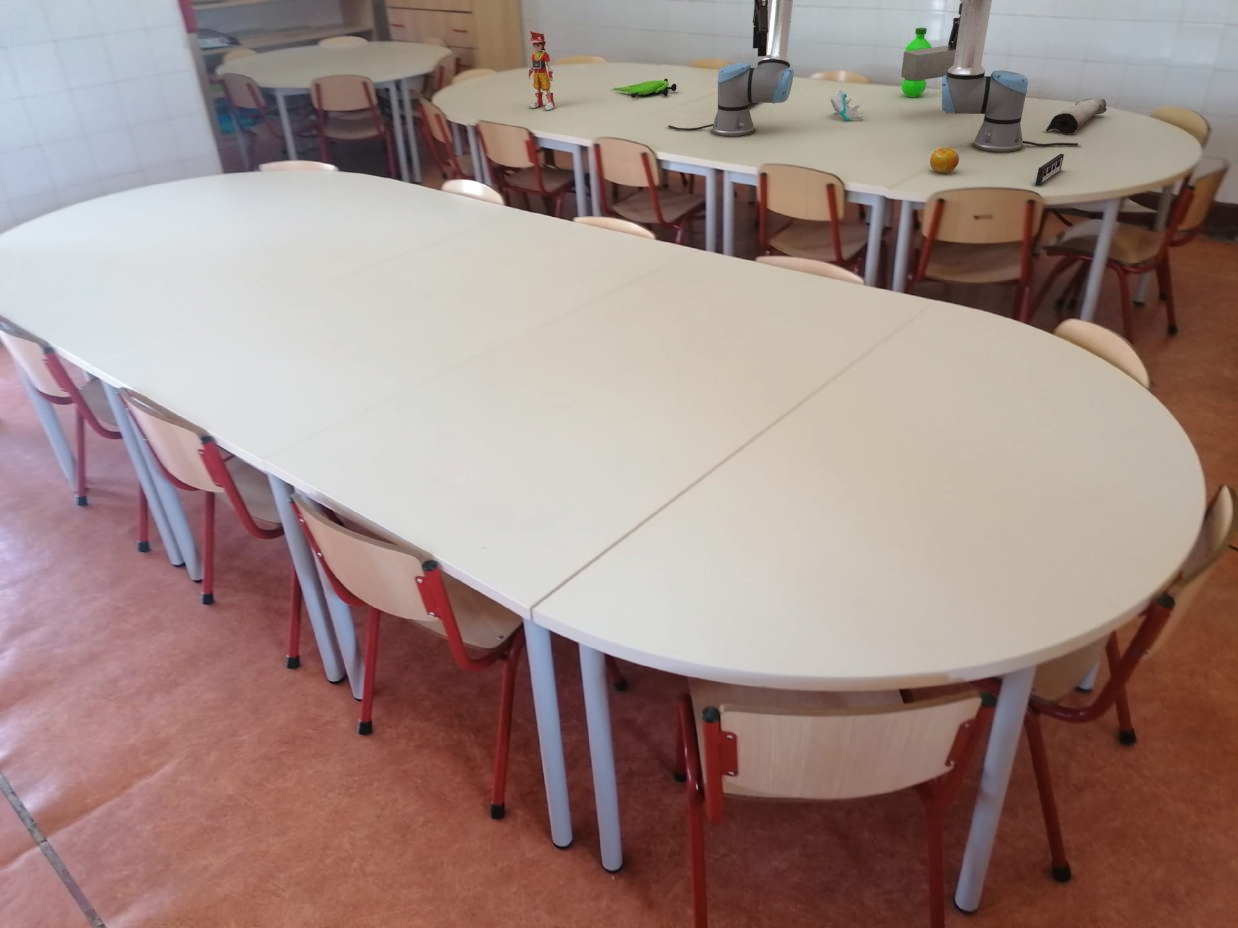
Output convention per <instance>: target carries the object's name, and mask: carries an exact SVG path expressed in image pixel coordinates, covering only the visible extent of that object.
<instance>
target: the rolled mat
mask: <svg viewBox="0 0 1238 928" xmlns="http://www.w3.org/2000/svg"><path fill="white" fill-rule="evenodd" d="M1107 110H1108V109H1107V101H1106V99H1105V98H1098V97H1091V98H1087V99H1079V100H1078V101H1076V102H1075V104H1074V105H1072V106H1071V107H1068V108H1067V109H1065V110H1063V111H1061V112H1059V113H1058V114H1056V115H1054V116H1053V117H1052V119H1050V122H1049V124H1048V126H1047V127H1046V129H1045V132H1049V131H1051V130H1057V131H1058V132H1059V133H1062V134H1065V135H1066V134H1067V135H1073V134H1074V133H1076V132H1077V131H1078V130H1079V129H1080V128H1081V127H1082V126H1083V125H1084V124H1085V123H1086V122H1087V121H1088V120H1089V119H1091V118H1092V117H1094V116H1096V115H1102V114H1104V113H1106V112H1107Z"/></svg>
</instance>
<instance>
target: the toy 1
mask: <svg viewBox="0 0 1238 928" xmlns="http://www.w3.org/2000/svg"><path fill="white" fill-rule="evenodd" d="M529 33H530V35H531V36H528V37H527V38H528V39H529V40H528V41H527V43H529V44H530V43H531V44H532V48H533V50H534V51H533V52H532V55H531V58H530V59H531V63H530V66H528V74H527V75H528V76H527V77H528V79H529V80H531V75H532V74H533V84H532V85H533V86H532V87H533V88H534V89H535V90H536V92H534V95H535V97H536V100H535V101H533V102H531V105H530V108H531V109H535V108H538V107H542V106H544V101H543V100H544V99H543V95H544V92H546V94H545V97H546V99H547V103H546V104H545V106H544V110H546V111H549V110H553V109H554V107H555V106H556V105H555V99H554V92H551V91H550V90H551V86H552V84H551V82H552V81H553V80H554V77H553V73H554V71H555V70H554V69H552V68H551V63H550V61H551V59H550V58H551V57H550V54H549V53H548V52H547V50H546V48H545V46H546V44H547V41H545V35H544V33H543V32H542V33H539V32H535V31H529Z"/></svg>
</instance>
